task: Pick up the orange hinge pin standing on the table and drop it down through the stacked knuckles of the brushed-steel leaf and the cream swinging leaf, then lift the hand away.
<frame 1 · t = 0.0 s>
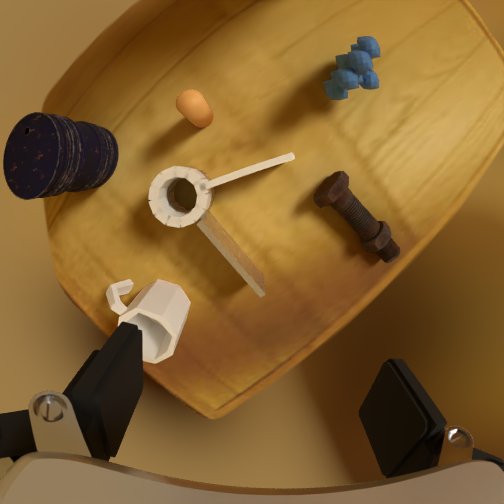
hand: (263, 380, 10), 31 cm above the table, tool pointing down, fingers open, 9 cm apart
bolt: (356, 219, 40), on the table
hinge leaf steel: (189, 192, 38), on the table
mug: (154, 297, 43), on the table
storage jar: (92, 157, 37), on the table
hinge pin: (202, 117, 36), on the table
grapes: (342, 84, 35), on the table
hinge leaf cream: (222, 179, 34), point 4 cm above the table, hinge at 0.0°
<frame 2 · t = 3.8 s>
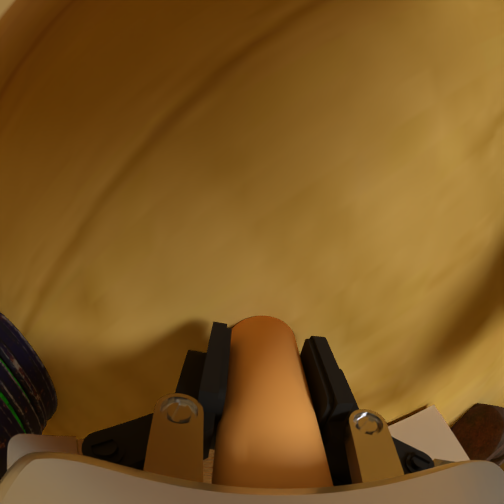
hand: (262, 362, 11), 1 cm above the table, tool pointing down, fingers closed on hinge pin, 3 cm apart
bolt: (481, 428, 16), on the table
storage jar: (6, 363, 13), on the table
hinge pin: (260, 345, 12), on the table, touching gripper
hinge leaf cream: (315, 501, 11), point 4 cm above the table, hinge at 0.0°
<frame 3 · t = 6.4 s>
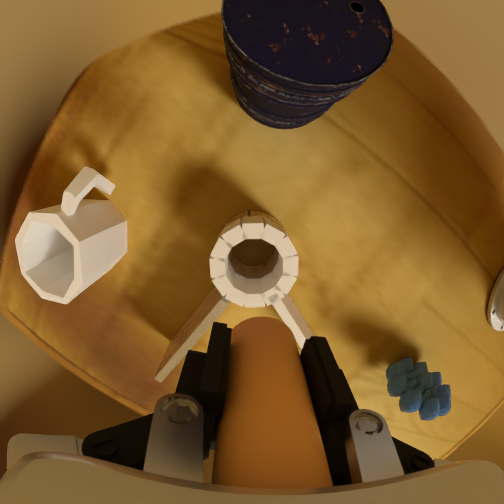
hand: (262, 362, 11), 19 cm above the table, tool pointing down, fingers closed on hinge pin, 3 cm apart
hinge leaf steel: (253, 244, 30), on the table
mug: (102, 218, 29), on the table
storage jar: (282, 85, 25), on the table
hinge pin: (260, 346, 12), point 18 cm above the table, touching gripper
grapes: (397, 366, 35), on the table
hinge leaf cream: (282, 299, 27), point 4 cm above the table, hinge at 0.0°
when the fingers open (9 cm above the table, at t = 9.4 s): hinge pin drops 8 cm, resting in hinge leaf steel.
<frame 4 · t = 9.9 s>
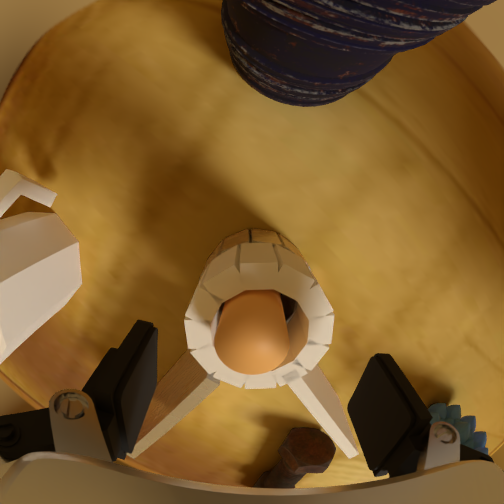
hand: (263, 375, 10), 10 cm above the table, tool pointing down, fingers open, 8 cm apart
bolt: (280, 461, 27), on the table
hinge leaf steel: (255, 278, 20), on the table
mug: (49, 237, 19), on the table
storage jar: (299, 46, 16), on the table
hinge pin: (254, 279, 20), resting in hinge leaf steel
grapes: (427, 410, 25), on the table
hinge leaf cream: (298, 362, 18), point 4 cm above the table, hinge at 0.0°
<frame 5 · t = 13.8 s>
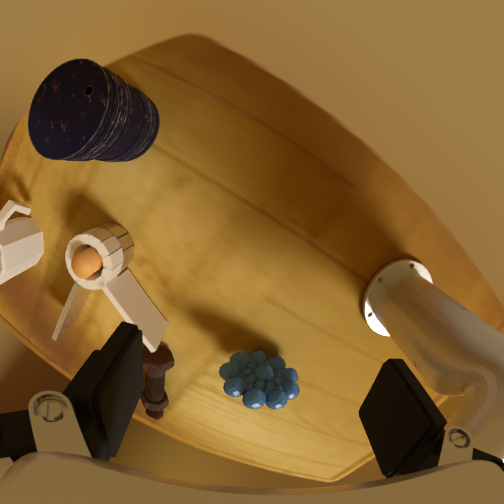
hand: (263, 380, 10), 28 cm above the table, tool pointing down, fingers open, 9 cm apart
bolt: (157, 378, 44), on the table
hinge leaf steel: (112, 247, 37), on the table
mug: (30, 229, 37), on the table
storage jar: (126, 126, 33), on the table
hinge pin: (111, 247, 37), resting in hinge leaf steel
grapes: (257, 357, 43), on the table
hinge leaf cream: (122, 287, 35), point 4 cm above the table, hinge at 0.0°
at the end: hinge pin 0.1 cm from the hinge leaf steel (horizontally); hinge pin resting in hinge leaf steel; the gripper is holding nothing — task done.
